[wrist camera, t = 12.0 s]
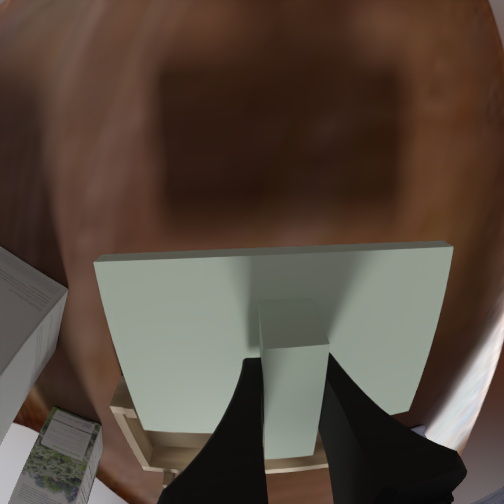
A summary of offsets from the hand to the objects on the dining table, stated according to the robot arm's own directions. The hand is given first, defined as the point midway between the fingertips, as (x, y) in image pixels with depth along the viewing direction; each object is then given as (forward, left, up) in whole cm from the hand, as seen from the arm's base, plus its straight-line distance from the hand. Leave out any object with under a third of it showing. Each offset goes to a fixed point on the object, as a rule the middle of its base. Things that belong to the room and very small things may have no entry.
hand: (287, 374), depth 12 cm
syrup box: (+20, +18, -9) cm, 28 cm away
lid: (0, 0, -2) cm, 2 cm away
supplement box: (+19, +2, -9) cm, 21 cm away
